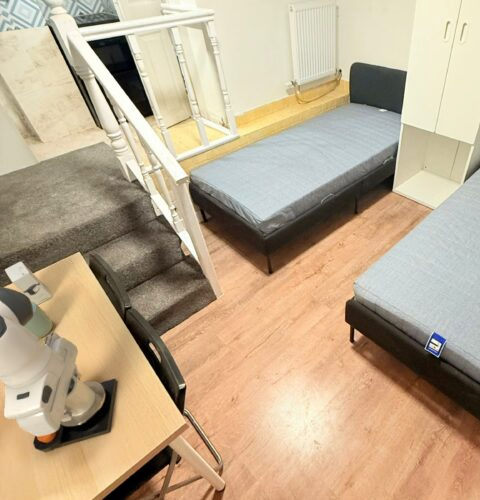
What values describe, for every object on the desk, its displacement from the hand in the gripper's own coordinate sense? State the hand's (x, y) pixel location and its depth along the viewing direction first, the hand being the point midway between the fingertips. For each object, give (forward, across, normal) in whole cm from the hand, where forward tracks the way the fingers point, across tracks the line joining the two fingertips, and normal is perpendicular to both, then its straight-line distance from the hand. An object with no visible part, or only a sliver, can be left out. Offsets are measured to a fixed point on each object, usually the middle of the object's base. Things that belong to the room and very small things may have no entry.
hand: (73, 397), depth 78 cm
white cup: (+3, 0, 0) cm, 3 cm away
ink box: (+8, -45, -23) cm, 51 cm away
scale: (+7, +1, -1) cm, 7 cm away
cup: (+8, -29, -18) cm, 35 cm away
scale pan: (+4, 0, 0) cm, 4 cm away
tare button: (+4, +5, -6) cm, 9 cm away
